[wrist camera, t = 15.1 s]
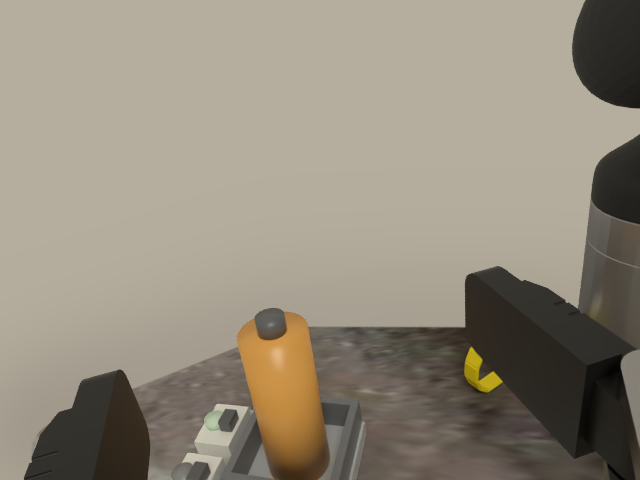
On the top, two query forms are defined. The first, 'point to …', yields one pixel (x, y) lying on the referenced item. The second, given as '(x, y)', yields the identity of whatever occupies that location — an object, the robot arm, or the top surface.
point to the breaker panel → (248, 451)
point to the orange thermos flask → (285, 394)
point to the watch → (472, 373)
